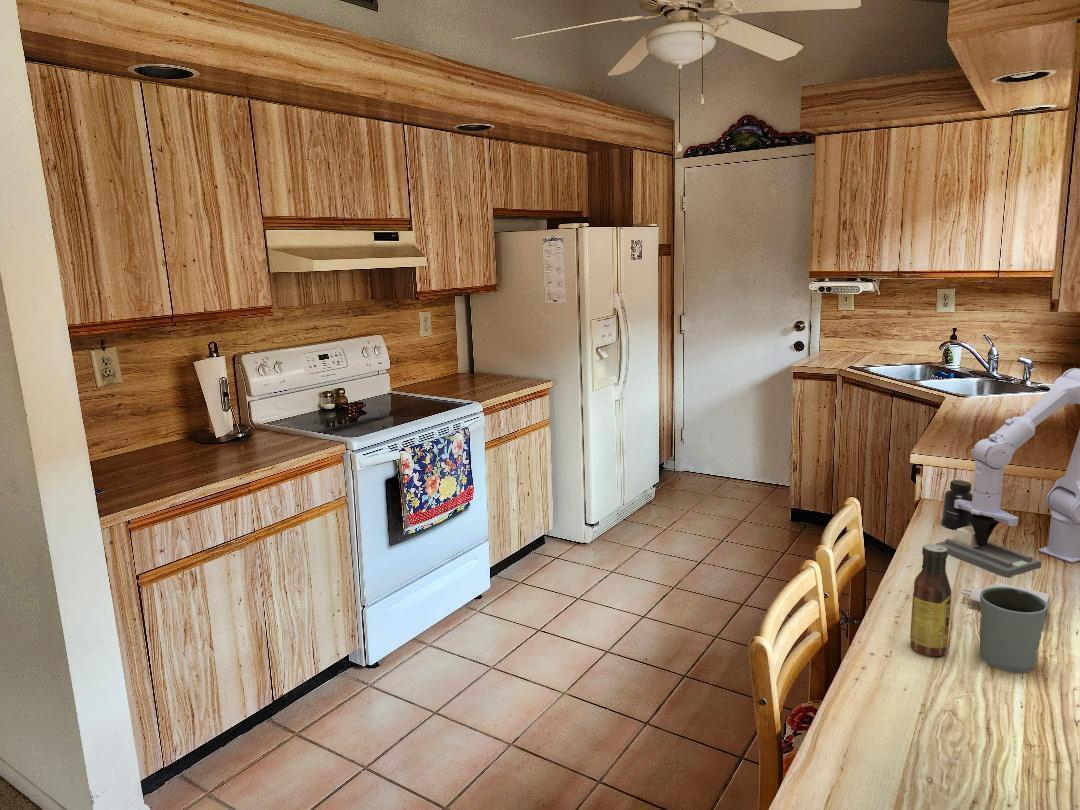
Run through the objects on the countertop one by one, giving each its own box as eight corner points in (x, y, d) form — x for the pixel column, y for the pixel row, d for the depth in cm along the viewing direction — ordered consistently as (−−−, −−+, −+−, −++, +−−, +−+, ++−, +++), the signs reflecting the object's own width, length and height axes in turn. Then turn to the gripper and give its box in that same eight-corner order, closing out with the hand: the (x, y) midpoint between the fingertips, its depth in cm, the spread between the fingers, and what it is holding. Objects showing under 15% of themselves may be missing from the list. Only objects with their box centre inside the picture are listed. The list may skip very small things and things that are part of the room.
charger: (965, 593, 162) (1048, 614, 152) (954, 609, 155) (1041, 632, 145) (967, 572, 161) (1051, 592, 151) (956, 588, 154) (1043, 609, 144)
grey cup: (1038, 654, 137) (1046, 593, 135) (1041, 682, 129) (1049, 617, 126) (974, 640, 142) (980, 581, 140) (973, 666, 134) (979, 604, 131)
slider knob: (967, 539, 185) (969, 525, 184) (983, 545, 181) (984, 531, 181) (955, 542, 183) (956, 528, 182) (970, 548, 180) (972, 534, 179)
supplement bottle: (944, 529, 196) (948, 485, 194) (939, 520, 203) (943, 477, 200) (974, 531, 194) (978, 487, 192) (967, 522, 201) (972, 479, 198)
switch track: (968, 540, 189) (969, 531, 188) (1041, 567, 173) (1042, 557, 172) (935, 549, 184) (936, 539, 184) (1006, 577, 168) (1007, 567, 168)
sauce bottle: (951, 659, 136) (961, 556, 132) (914, 656, 138) (923, 554, 133) (940, 641, 143) (949, 542, 138) (904, 638, 144) (912, 540, 140)
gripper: (947, 484, 181) (942, 537, 184) (1006, 502, 168) (999, 559, 171) (967, 480, 184) (962, 532, 187) (1026, 497, 171) (1020, 553, 174)
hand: (981, 545), depth 179 cm, fingers closed
